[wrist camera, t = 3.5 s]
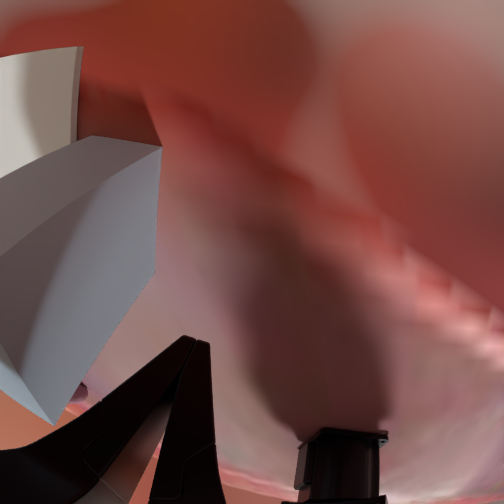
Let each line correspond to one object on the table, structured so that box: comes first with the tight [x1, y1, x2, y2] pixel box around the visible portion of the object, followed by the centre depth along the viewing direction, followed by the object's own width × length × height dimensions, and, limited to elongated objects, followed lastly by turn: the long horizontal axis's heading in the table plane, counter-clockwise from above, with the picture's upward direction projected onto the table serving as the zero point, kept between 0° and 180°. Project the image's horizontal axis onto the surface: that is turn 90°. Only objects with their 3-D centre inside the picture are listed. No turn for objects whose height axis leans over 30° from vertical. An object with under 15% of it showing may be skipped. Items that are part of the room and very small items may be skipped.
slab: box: [0, 135, 163, 426], centre depth 11 cm, size 4×7×10 cm, turn 168°
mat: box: [0, 46, 84, 178], centre depth 15 cm, size 14×16×1 cm
